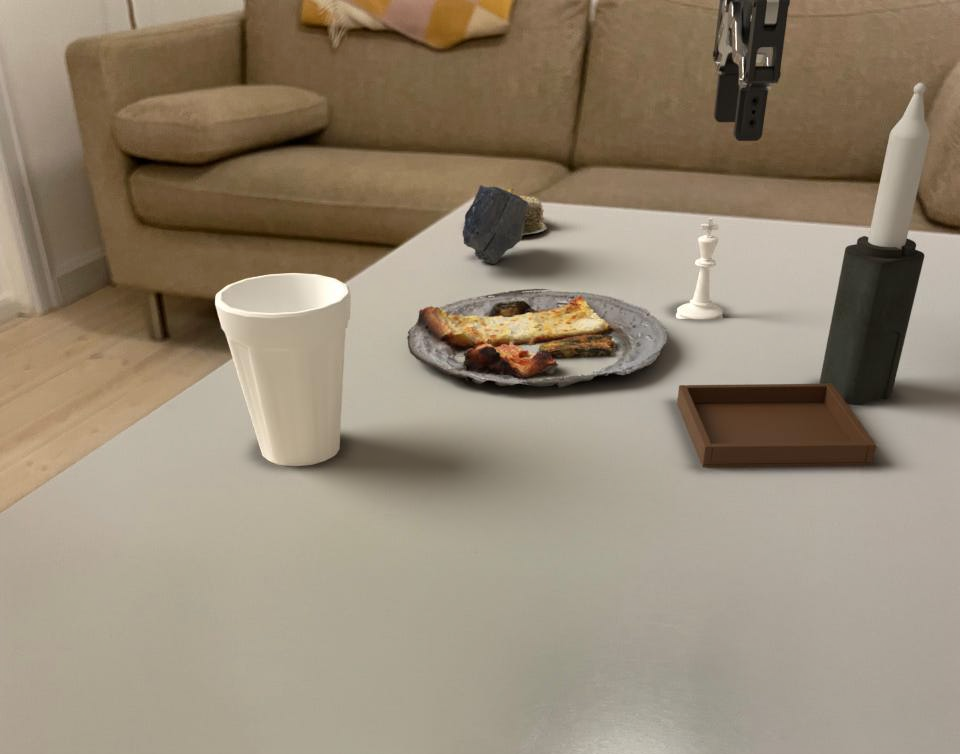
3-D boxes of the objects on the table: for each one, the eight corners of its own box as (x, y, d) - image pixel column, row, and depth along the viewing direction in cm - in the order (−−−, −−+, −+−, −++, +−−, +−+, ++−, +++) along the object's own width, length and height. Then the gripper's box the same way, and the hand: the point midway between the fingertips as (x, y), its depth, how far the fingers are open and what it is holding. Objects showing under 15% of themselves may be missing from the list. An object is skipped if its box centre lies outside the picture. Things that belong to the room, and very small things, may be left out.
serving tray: (827, 408, 91) (832, 383, 90) (870, 472, 81) (877, 444, 80) (676, 409, 91) (679, 384, 90) (701, 473, 81) (705, 446, 80)
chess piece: (675, 308, 113) (685, 211, 107) (721, 310, 112) (734, 212, 106) (676, 324, 109) (686, 224, 103) (724, 325, 108) (737, 225, 102)
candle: (849, 413, 90) (918, 90, 75) (811, 391, 94) (870, 80, 79) (895, 403, 92) (972, 85, 77) (857, 382, 96) (923, 75, 81)
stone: (482, 246, 132) (482, 162, 127) (529, 248, 132) (531, 163, 126) (461, 279, 121) (460, 188, 116) (512, 282, 120) (514, 190, 115)
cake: (457, 236, 138) (454, 192, 136) (504, 221, 145) (502, 180, 142) (515, 242, 133) (513, 197, 130) (562, 227, 139) (561, 184, 136)
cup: (228, 440, 87) (202, 281, 79) (344, 421, 90) (330, 266, 82) (253, 493, 79) (227, 323, 71) (379, 469, 82) (367, 304, 74)
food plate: (428, 412, 91) (427, 373, 89) (391, 323, 109) (389, 290, 107) (698, 387, 95) (703, 349, 93) (619, 306, 113) (621, 273, 111)
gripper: (840, -102, 74) (801, 147, 83) (790, -104, 85) (761, 115, 95) (735, -101, 74) (707, 148, 83) (699, -103, 85) (678, 116, 95)
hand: (736, 130), depth 89 cm, fingers open, 8 cm apart
